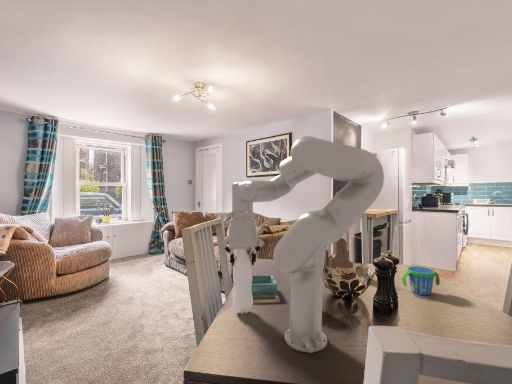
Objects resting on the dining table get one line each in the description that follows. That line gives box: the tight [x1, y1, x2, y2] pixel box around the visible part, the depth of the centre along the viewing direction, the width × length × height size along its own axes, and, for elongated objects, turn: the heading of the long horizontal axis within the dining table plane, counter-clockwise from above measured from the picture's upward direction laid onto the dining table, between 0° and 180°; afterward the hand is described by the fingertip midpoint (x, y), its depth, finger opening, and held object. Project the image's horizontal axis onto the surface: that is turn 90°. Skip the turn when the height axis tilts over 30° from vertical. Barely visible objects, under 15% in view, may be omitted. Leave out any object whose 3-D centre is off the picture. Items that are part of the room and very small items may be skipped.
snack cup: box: [401, 266, 441, 296], centre depth 118 cm, size 16×10×10 cm
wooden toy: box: [324, 236, 354, 269], centre depth 144 cm, size 16×7×25 cm, turn 109°
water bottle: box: [232, 248, 254, 314], centre depth 98 cm, size 7×7×25 cm
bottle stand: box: [252, 274, 281, 305], centre depth 115 cm, size 16×13×6 cm
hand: (242, 264), depth 98 cm, fingers closed on water bottle, 6 cm apart
